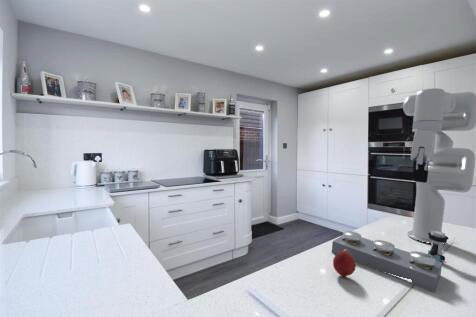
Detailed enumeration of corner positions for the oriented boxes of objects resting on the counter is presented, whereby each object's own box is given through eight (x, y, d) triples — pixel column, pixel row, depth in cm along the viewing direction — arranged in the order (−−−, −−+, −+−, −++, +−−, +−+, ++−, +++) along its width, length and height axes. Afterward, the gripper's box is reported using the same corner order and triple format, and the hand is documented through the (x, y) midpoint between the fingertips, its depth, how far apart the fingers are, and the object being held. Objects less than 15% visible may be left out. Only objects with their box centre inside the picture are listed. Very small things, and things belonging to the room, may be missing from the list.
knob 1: (345, 245, 87) (347, 229, 87) (362, 250, 83) (363, 234, 82) (339, 249, 83) (340, 233, 83) (356, 255, 79) (357, 238, 79)
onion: (344, 284, 62) (347, 256, 62) (327, 273, 68) (329, 246, 67) (358, 279, 65) (361, 252, 65) (341, 269, 70) (343, 243, 70)
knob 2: (410, 267, 73) (412, 249, 72) (434, 276, 68) (436, 256, 68) (406, 274, 69) (408, 254, 68) (431, 283, 64) (433, 263, 64)
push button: (453, 267, 75) (456, 237, 75) (436, 266, 76) (439, 236, 75) (436, 257, 82) (440, 230, 81) (421, 256, 82) (424, 229, 82)
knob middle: (375, 255, 80) (376, 238, 79) (394, 262, 76) (396, 244, 75) (369, 260, 76) (371, 242, 75) (390, 268, 72) (392, 249, 71)
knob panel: (346, 242, 90) (347, 232, 90) (440, 275, 70) (442, 262, 70) (331, 252, 81) (332, 241, 81) (434, 292, 61) (436, 278, 61)
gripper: (416, 129, 85) (411, 178, 86) (408, 125, 74) (402, 181, 75) (444, 129, 79) (438, 182, 80) (438, 125, 69) (431, 185, 70)
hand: (420, 181), depth 78 cm, fingers closed
